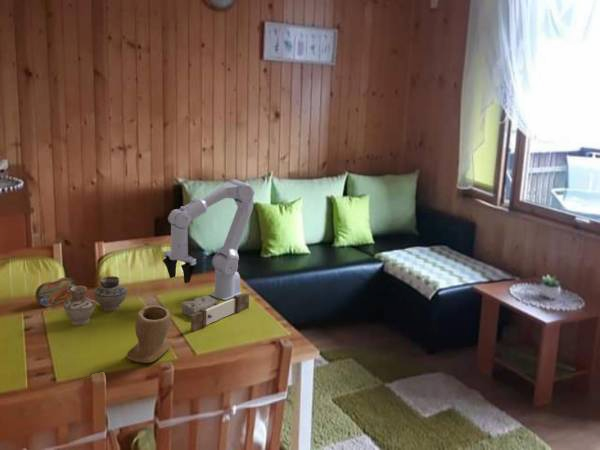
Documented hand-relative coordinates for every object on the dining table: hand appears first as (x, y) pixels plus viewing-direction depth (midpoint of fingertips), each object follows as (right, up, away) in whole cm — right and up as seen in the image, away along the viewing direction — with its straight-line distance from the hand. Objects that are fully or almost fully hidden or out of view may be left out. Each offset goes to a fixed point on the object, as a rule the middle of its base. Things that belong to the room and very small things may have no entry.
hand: (179, 279), depth 214 cm
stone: (+8, -11, -3) cm, 14 cm away
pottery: (-27, -11, -9) cm, 30 cm away
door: (+16, -12, -9) cm, 22 cm away
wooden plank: (+16, -13, -9) cm, 22 cm away
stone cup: (-1, -19, -36) cm, 40 cm away
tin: (-44, -8, -1) cm, 44 cm away
